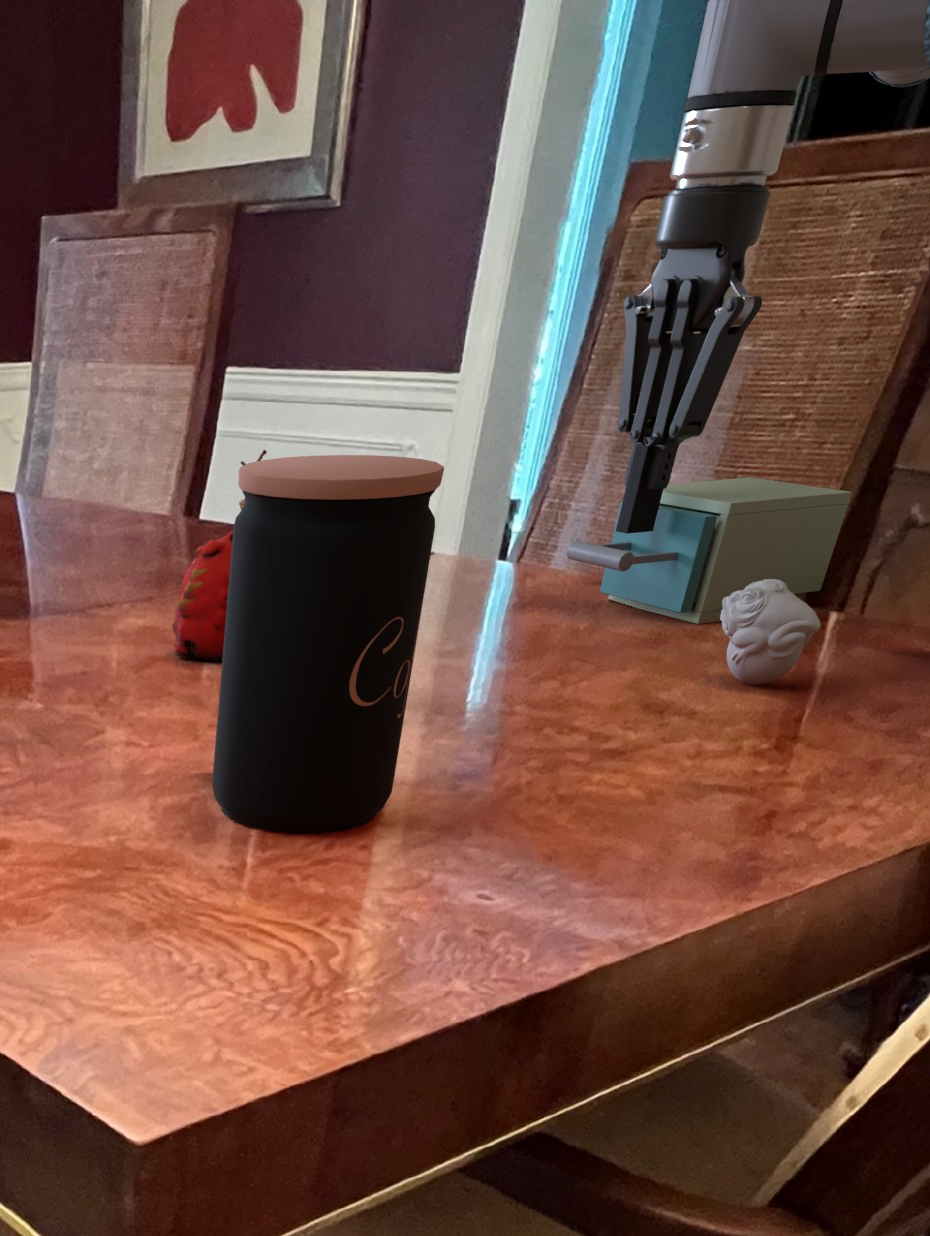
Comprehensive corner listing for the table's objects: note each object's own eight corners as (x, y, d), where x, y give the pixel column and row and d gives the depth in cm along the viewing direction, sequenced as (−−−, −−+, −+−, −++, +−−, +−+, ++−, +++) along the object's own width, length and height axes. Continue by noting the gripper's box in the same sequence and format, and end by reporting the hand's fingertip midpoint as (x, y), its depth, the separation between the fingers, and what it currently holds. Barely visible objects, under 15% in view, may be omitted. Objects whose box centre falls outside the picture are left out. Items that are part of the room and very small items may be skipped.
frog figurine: (713, 669, 107) (741, 570, 103) (810, 680, 103) (844, 578, 99) (689, 685, 103) (718, 583, 99) (789, 697, 100) (823, 592, 95)
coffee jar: (354, 849, 77) (409, 482, 66) (181, 822, 82) (206, 474, 71) (411, 797, 84) (469, 457, 73) (249, 774, 89) (281, 452, 78)
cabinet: (697, 624, 119) (731, 503, 114) (607, 600, 128) (634, 487, 123) (814, 610, 122) (852, 491, 117) (718, 588, 131) (749, 477, 126)
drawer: (620, 619, 118) (644, 522, 113) (542, 598, 126) (562, 506, 121) (786, 600, 122) (816, 506, 117) (701, 581, 130) (725, 492, 125)
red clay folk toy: (199, 642, 120) (214, 442, 111) (272, 650, 116) (294, 445, 107) (157, 659, 115) (169, 452, 106) (232, 668, 112) (251, 455, 102)
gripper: (621, 189, 109) (550, 524, 123) (743, 180, 99) (650, 545, 113) (698, 187, 110) (619, 518, 125) (825, 178, 101) (723, 538, 115)
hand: (634, 530), depth 119 cm, fingers closed
